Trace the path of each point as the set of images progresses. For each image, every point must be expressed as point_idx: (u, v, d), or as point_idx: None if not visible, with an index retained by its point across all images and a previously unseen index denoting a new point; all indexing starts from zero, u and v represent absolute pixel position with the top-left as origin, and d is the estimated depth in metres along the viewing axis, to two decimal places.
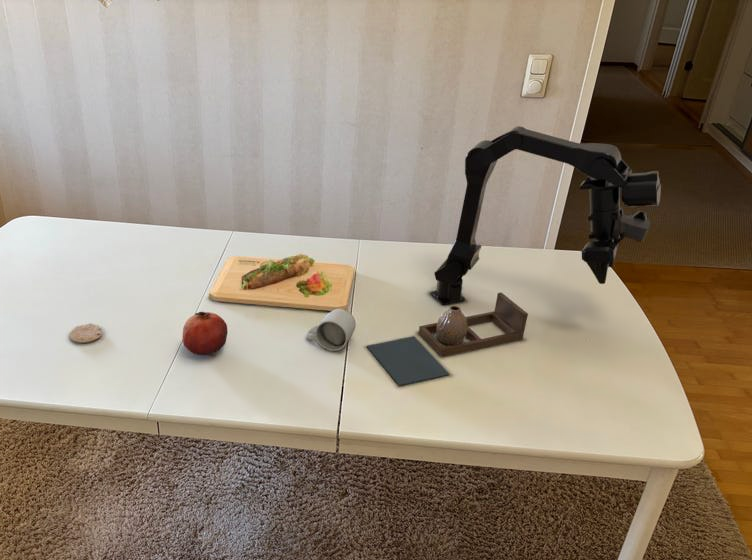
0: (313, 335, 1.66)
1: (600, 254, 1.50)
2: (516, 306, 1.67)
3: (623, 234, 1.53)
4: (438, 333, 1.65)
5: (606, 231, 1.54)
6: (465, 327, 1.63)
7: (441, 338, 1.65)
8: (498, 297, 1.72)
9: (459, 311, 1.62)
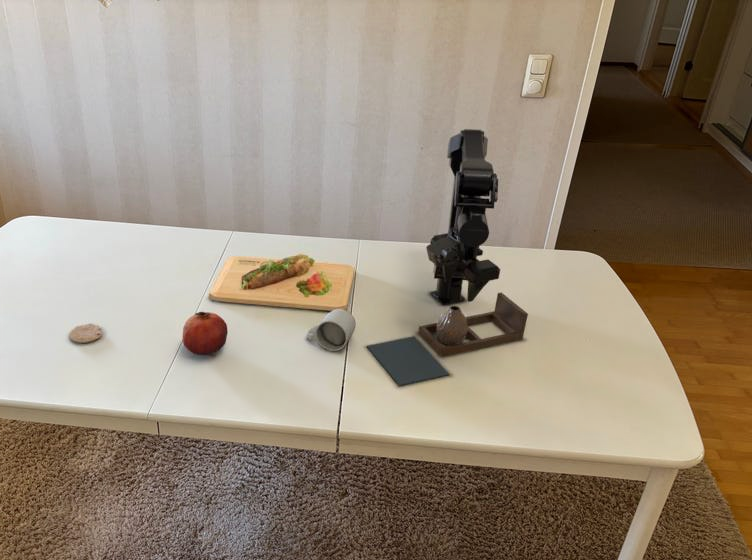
0: (313, 335, 1.66)
1: None
2: (516, 306, 1.67)
3: None
4: (438, 333, 1.65)
5: None
6: (465, 327, 1.63)
7: (441, 338, 1.65)
8: (498, 297, 1.72)
9: (459, 311, 1.62)
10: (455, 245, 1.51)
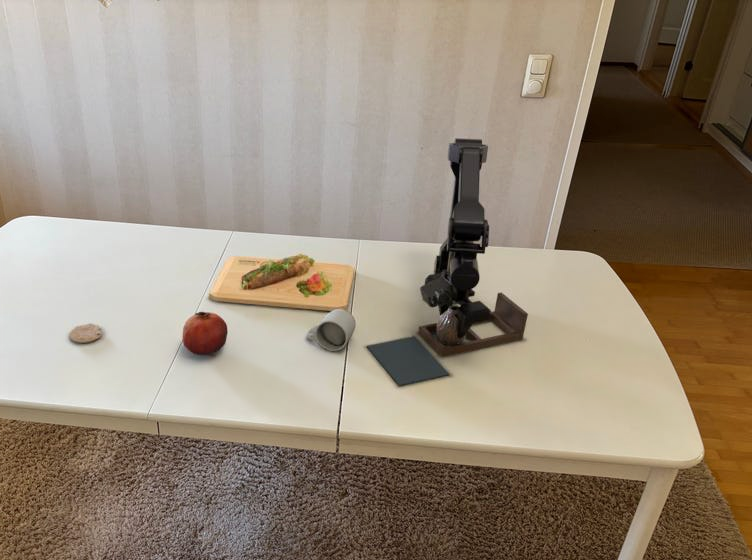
0: (313, 335, 1.66)
1: None
2: (516, 306, 1.67)
3: None
4: (438, 333, 1.65)
5: None
6: None
7: (441, 338, 1.65)
8: (498, 297, 1.72)
9: None
10: (448, 287, 1.56)
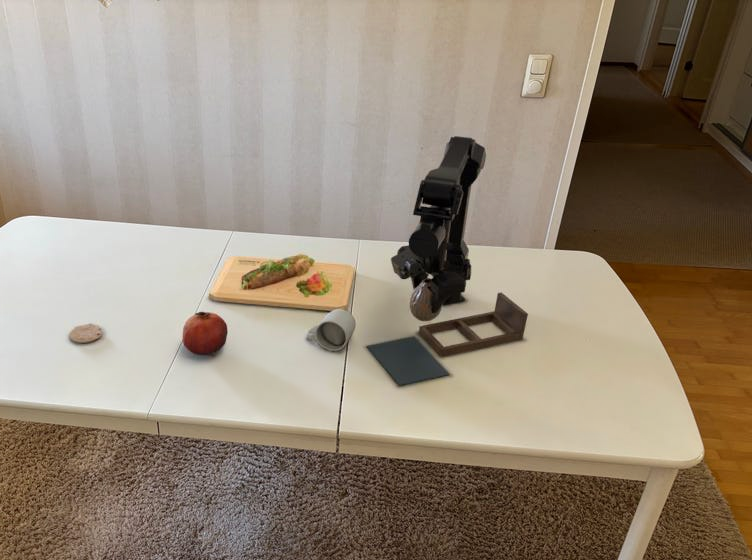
0: (313, 335, 1.66)
1: None
2: (516, 306, 1.67)
3: None
4: (411, 308, 1.55)
5: None
6: None
7: (414, 313, 1.55)
8: (498, 297, 1.72)
9: None
10: (420, 257, 1.46)
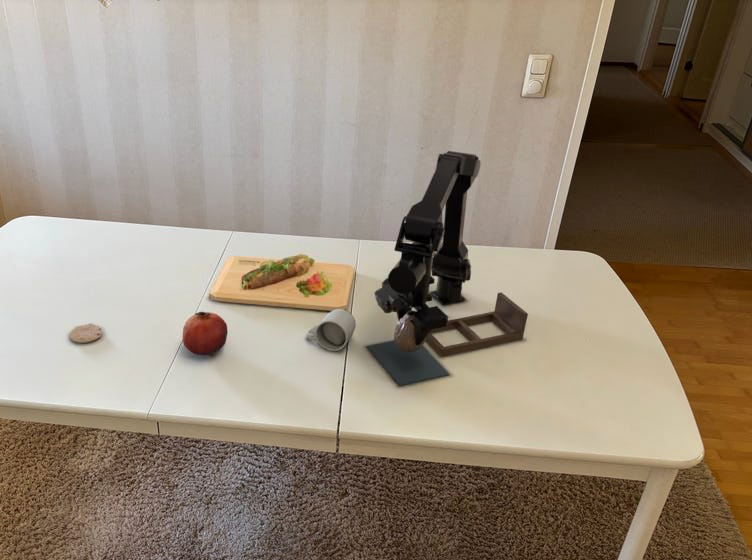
0: (313, 335, 1.66)
1: None
2: (516, 306, 1.67)
3: None
4: (395, 340, 1.57)
5: None
6: None
7: (398, 345, 1.57)
8: (498, 297, 1.72)
9: None
10: None
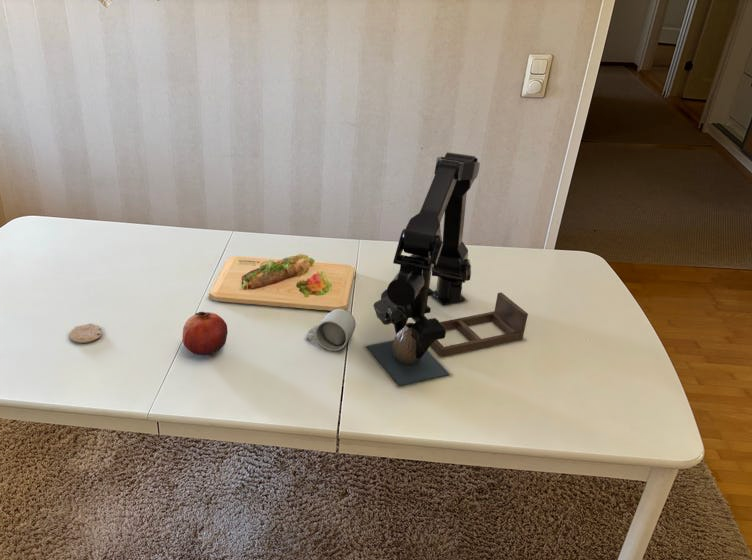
0: (313, 335, 1.66)
1: None
2: (516, 306, 1.67)
3: None
4: (394, 351, 1.59)
5: None
6: None
7: (397, 357, 1.59)
8: (498, 297, 1.72)
9: None
10: None
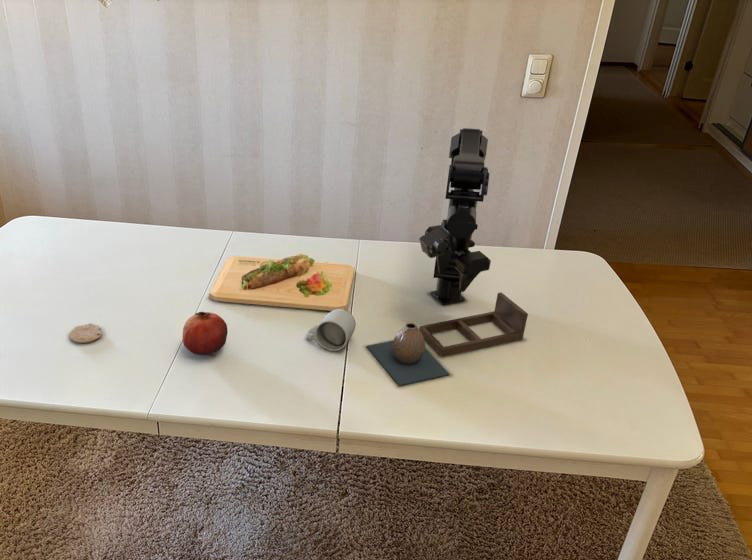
0: (313, 335, 1.66)
1: None
2: (516, 306, 1.67)
3: None
4: (394, 351, 1.59)
5: None
6: (422, 346, 1.57)
7: (397, 357, 1.59)
8: (498, 297, 1.72)
9: (415, 329, 1.56)
10: (447, 237, 1.55)
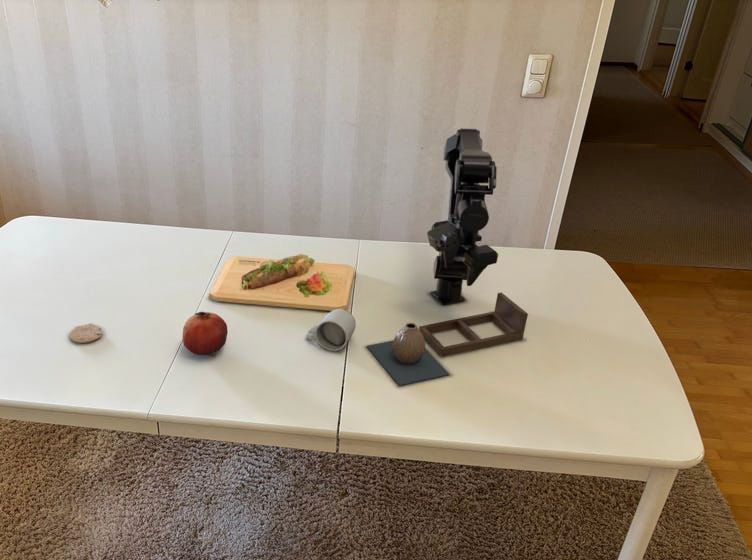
0: (313, 335, 1.66)
1: None
2: (516, 306, 1.67)
3: None
4: (394, 351, 1.59)
5: None
6: (422, 346, 1.57)
7: (397, 357, 1.59)
8: (498, 297, 1.72)
9: (415, 329, 1.56)
10: (455, 231, 1.56)
